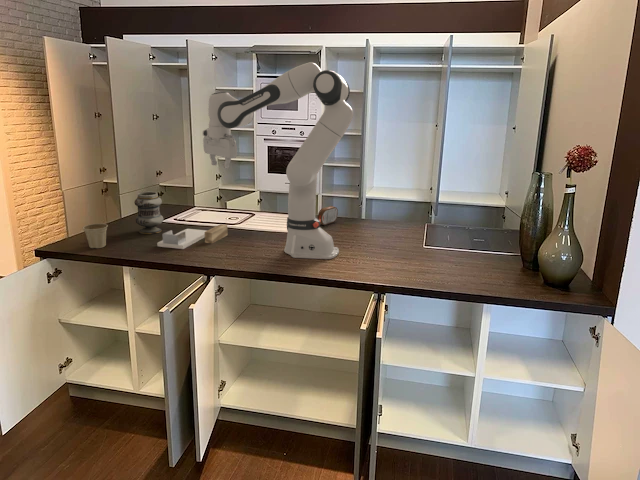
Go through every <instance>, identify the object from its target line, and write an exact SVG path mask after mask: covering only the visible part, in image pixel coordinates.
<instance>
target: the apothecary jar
mask: <svg viewBox="0 0 640 480" xmlns="http://www.w3.org/2000/svg"><path fill="white" fill-rule="evenodd" d="M162 202H163V200H162V198H161V197H159V195H158V192H157V191H141V192H139V193H137V198H135V199H134V205H135V206H136V207H137V216H136V218H135V223H136V224H137V225H139V226H141V227H142V228H141V229H140V230H139V231H138V232H139V233H140V234H143V235H153V234H159V233H161V232H162V231H163V230H162V228H159V227H157V226H159V225H161V224H162V223H163V222H164V216H163V215H162V214H161V211H160V209H161V208H160V206H161V205H162Z"/></svg>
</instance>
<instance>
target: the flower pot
mask: <svg viewBox="0 0 640 480" xmlns="http://www.w3.org/2000/svg"><path fill="white" fill-rule="evenodd" d="M108 227H109V225H108V224H106V223H92V224H87V225H83V227H82V230H84V233H85V237H86V239H87V242H88V246H89V248H90V249H101V248H104V247H106V245H107V229H108Z"/></svg>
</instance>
